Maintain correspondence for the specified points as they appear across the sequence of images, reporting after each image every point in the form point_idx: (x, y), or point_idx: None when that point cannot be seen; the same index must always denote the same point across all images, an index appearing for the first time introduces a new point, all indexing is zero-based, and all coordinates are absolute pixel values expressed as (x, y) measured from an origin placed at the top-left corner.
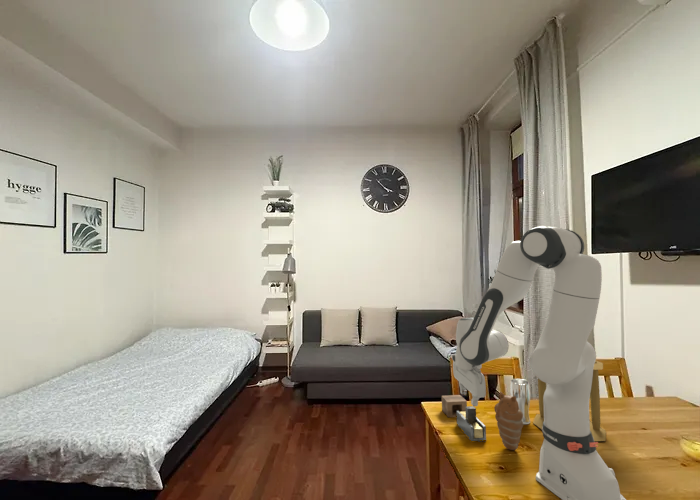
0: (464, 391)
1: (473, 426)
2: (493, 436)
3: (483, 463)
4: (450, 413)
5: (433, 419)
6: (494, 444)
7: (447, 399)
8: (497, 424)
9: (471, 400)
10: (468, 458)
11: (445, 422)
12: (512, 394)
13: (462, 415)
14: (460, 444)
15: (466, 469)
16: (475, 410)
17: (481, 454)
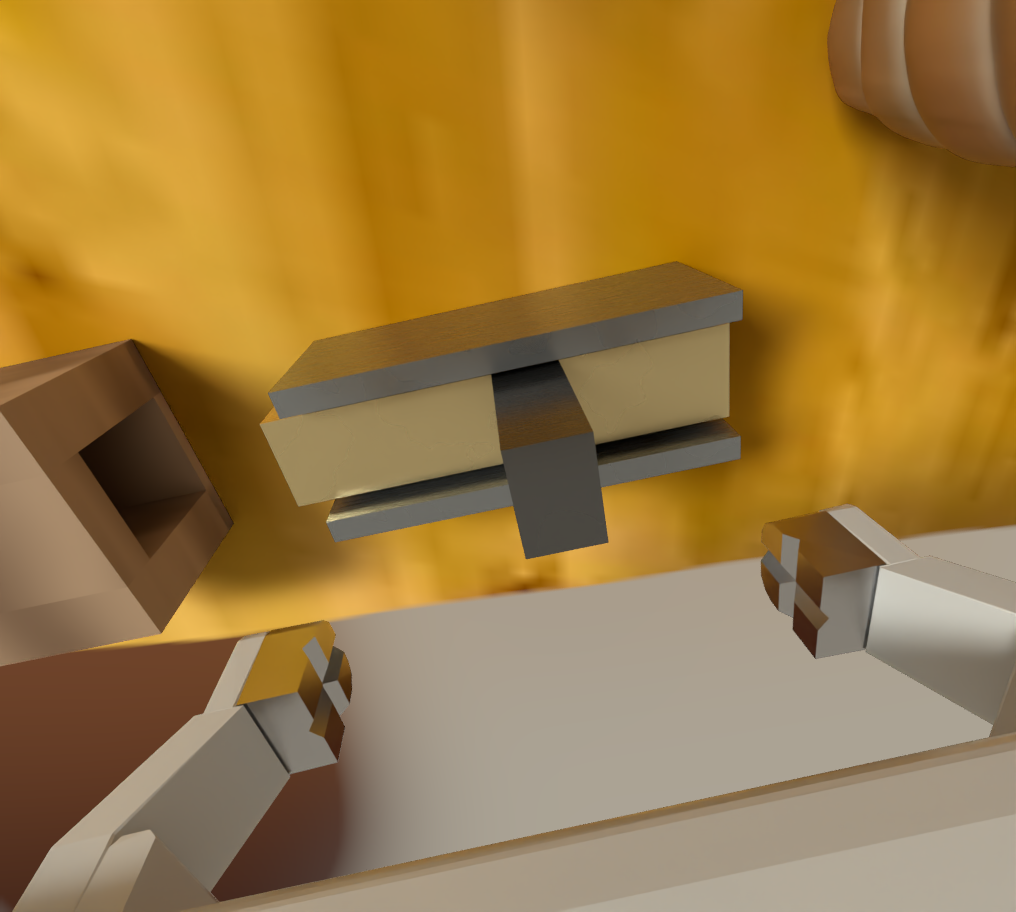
0: (318, 703)
1: (668, 412)
2: (582, 147)
3: (991, 372)
4: (205, 520)
5: (313, 621)
6: (744, 190)
7: (69, 626)
8: (1003, 164)
9: (824, 645)
10: (901, 460)
11: (347, 547)
12: None
13: (453, 499)
14: (712, 483)
15: (1011, 491)
16: (589, 424)
17: (877, 358)
